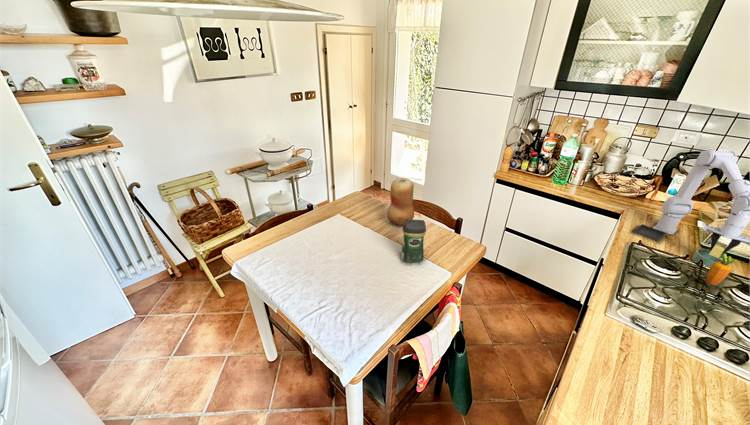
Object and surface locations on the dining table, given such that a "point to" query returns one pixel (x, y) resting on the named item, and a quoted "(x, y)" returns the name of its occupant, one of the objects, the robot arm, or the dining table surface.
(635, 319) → the blueberries
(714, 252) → the butter
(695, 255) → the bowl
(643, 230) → the dark grey flat slab
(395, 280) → the dining table surface
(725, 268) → the carrot
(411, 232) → the coffee jar
